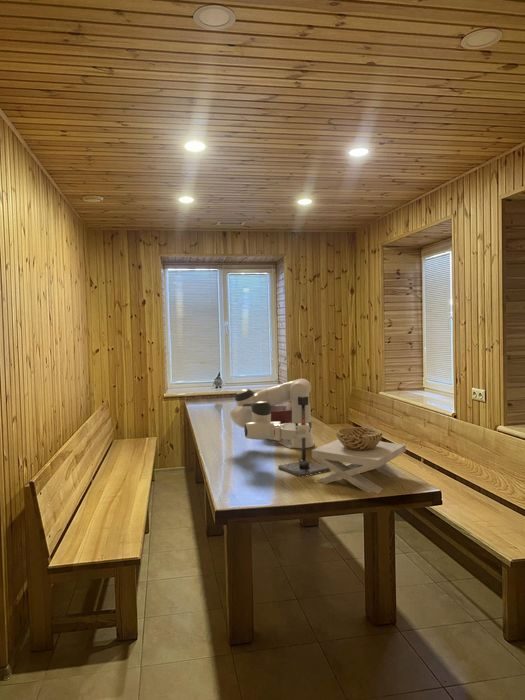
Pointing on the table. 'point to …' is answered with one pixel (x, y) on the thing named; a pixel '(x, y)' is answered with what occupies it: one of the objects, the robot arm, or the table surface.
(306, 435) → the sleeve
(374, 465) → the white table with basket
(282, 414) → the bucket
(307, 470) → the rod stand
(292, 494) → the table surface
